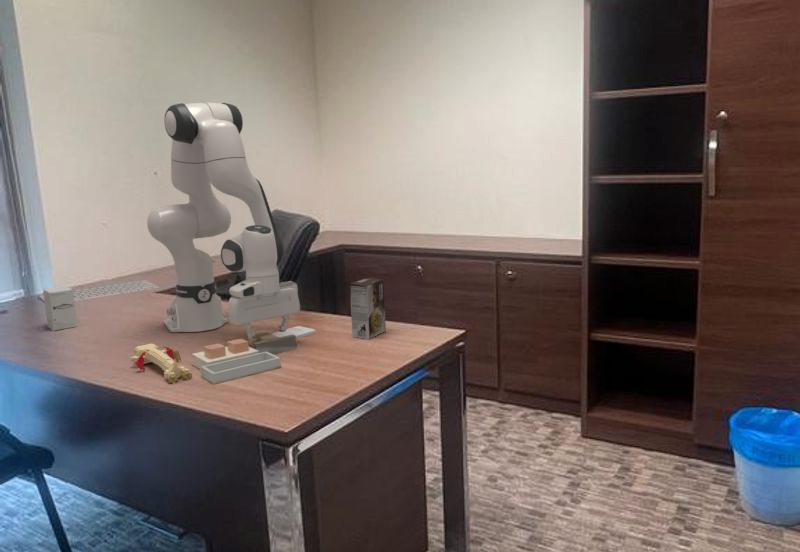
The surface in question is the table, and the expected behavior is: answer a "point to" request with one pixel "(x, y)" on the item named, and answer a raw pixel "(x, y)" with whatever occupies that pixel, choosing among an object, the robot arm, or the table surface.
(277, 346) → the scraper
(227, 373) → the tray
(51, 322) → the supplement box
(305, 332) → the external hard drive
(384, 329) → the coffee box
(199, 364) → the board
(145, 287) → the computer keyboard
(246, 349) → the tile
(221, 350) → the tile
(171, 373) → the beige long curved piece
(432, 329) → the table surface
